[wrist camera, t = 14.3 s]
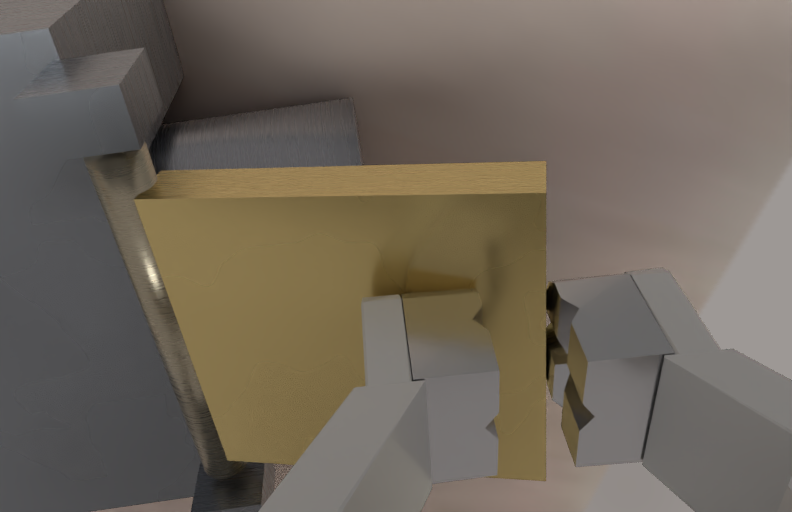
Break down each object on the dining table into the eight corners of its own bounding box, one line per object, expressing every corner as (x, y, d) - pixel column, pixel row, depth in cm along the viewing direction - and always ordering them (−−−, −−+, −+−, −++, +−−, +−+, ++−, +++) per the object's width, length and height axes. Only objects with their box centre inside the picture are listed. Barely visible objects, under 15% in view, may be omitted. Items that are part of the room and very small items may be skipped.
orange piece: (372, 221, 18) (381, 303, 15) (-112, 290, 18) (-195, 386, 15) (341, 27, 15) (346, 82, 12) (-227, 106, 15) (-354, 180, 12)
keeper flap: (545, 461, 12) (545, 501, 11) (213, 442, 13) (197, 477, 12) (546, 123, 9) (545, 153, 8) (102, 139, 10) (71, 165, 9)
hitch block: (291, 300, 19) (275, 547, 13) (23, 338, 19) (-122, 604, 13) (202, -65, 14) (107, 49, 8) (-161, -15, 14) (-541, 140, 8)
